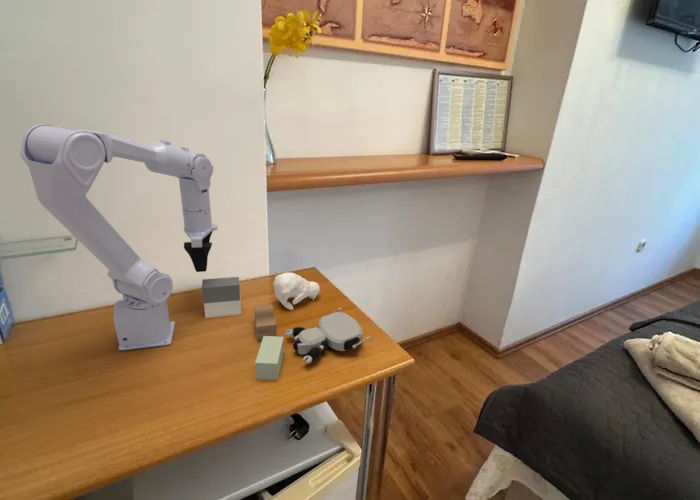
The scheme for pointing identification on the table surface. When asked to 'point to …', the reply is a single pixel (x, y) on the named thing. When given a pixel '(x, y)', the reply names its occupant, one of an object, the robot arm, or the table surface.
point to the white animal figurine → (294, 288)
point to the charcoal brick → (220, 290)
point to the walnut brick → (264, 321)
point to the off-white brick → (222, 308)
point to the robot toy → (327, 335)
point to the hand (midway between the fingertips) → (202, 263)
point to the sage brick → (269, 358)
